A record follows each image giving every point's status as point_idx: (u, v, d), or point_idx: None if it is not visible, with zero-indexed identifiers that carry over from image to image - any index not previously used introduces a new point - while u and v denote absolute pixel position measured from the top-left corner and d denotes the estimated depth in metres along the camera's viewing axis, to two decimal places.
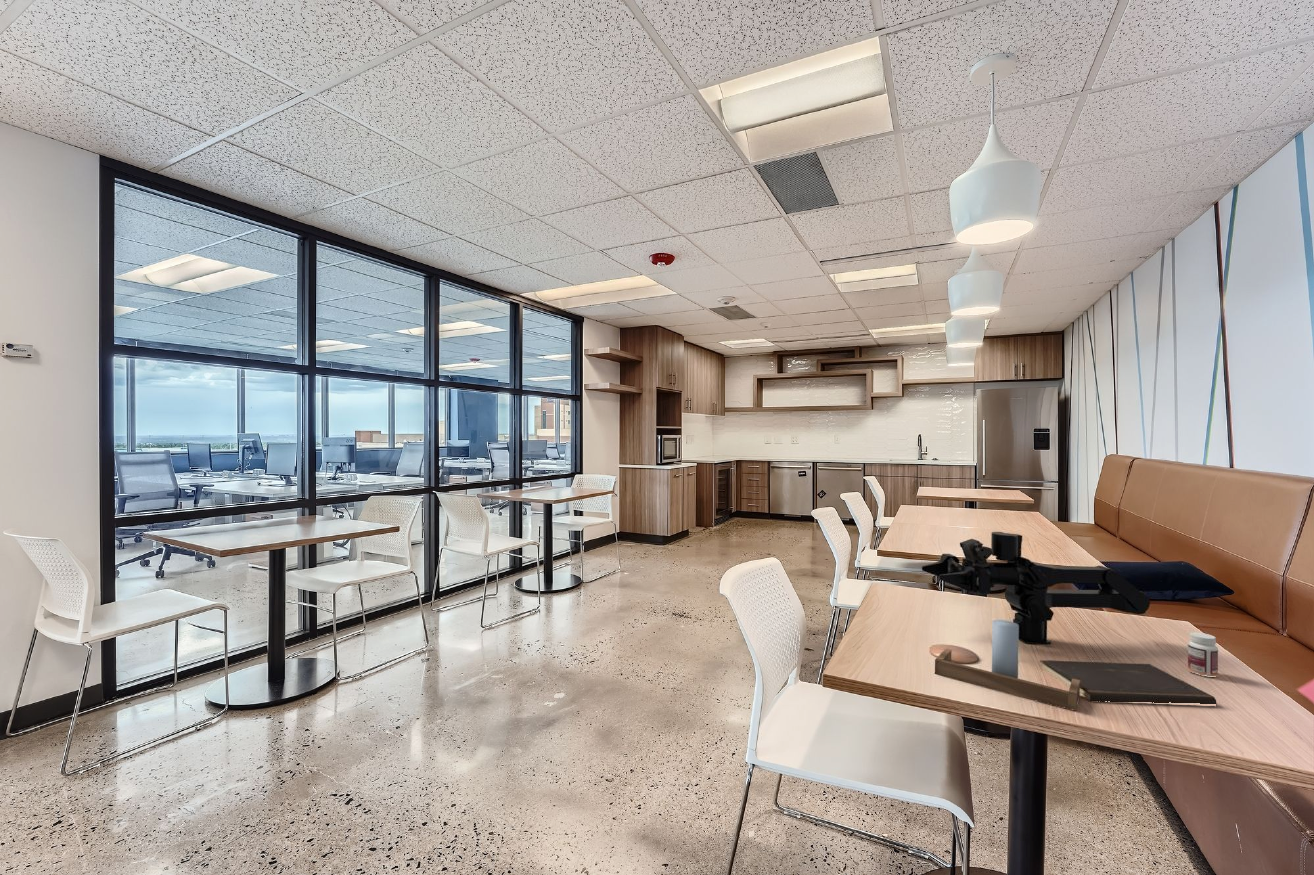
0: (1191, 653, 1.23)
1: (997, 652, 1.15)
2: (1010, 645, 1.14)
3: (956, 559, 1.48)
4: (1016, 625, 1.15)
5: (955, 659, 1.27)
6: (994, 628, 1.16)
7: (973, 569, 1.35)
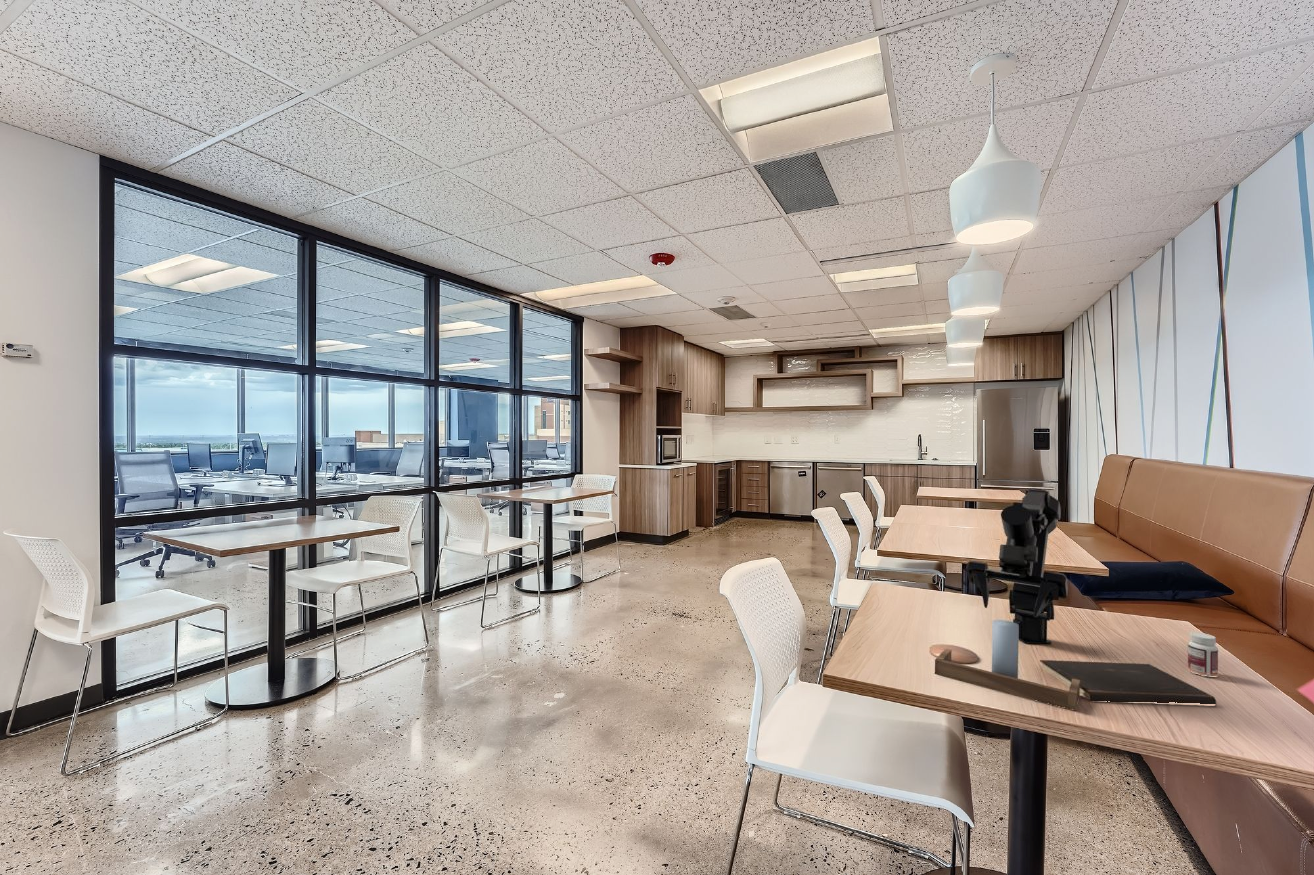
0: (1191, 653, 1.23)
1: (997, 652, 1.15)
2: (1010, 645, 1.14)
3: (986, 565, 1.28)
4: (1016, 625, 1.15)
5: (955, 659, 1.27)
6: (994, 628, 1.16)
7: (1054, 584, 1.18)
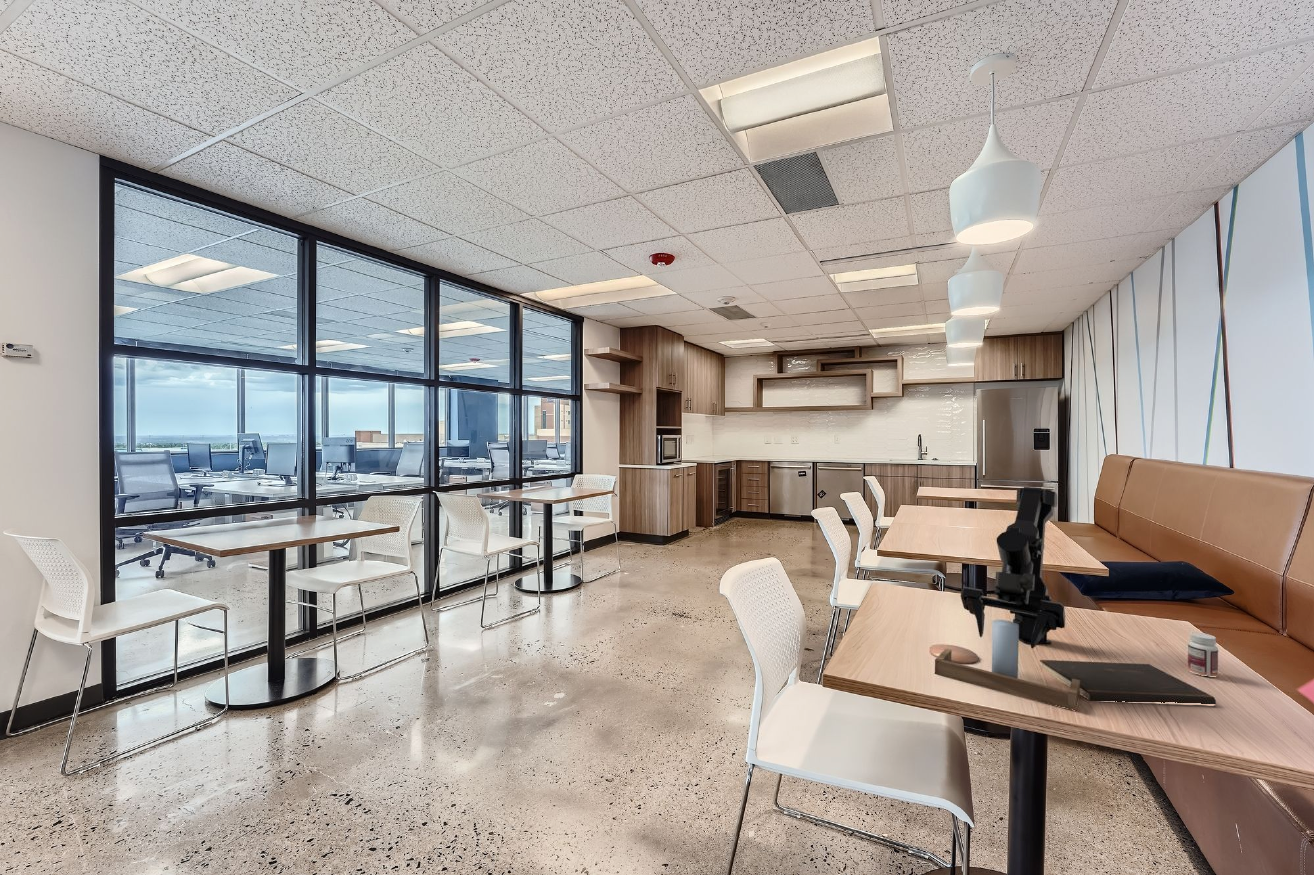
0: (1191, 653, 1.23)
1: (997, 652, 1.15)
2: (1010, 645, 1.14)
3: (981, 592, 1.24)
4: (1016, 625, 1.15)
5: (955, 659, 1.27)
6: (994, 628, 1.16)
7: (1052, 614, 1.14)
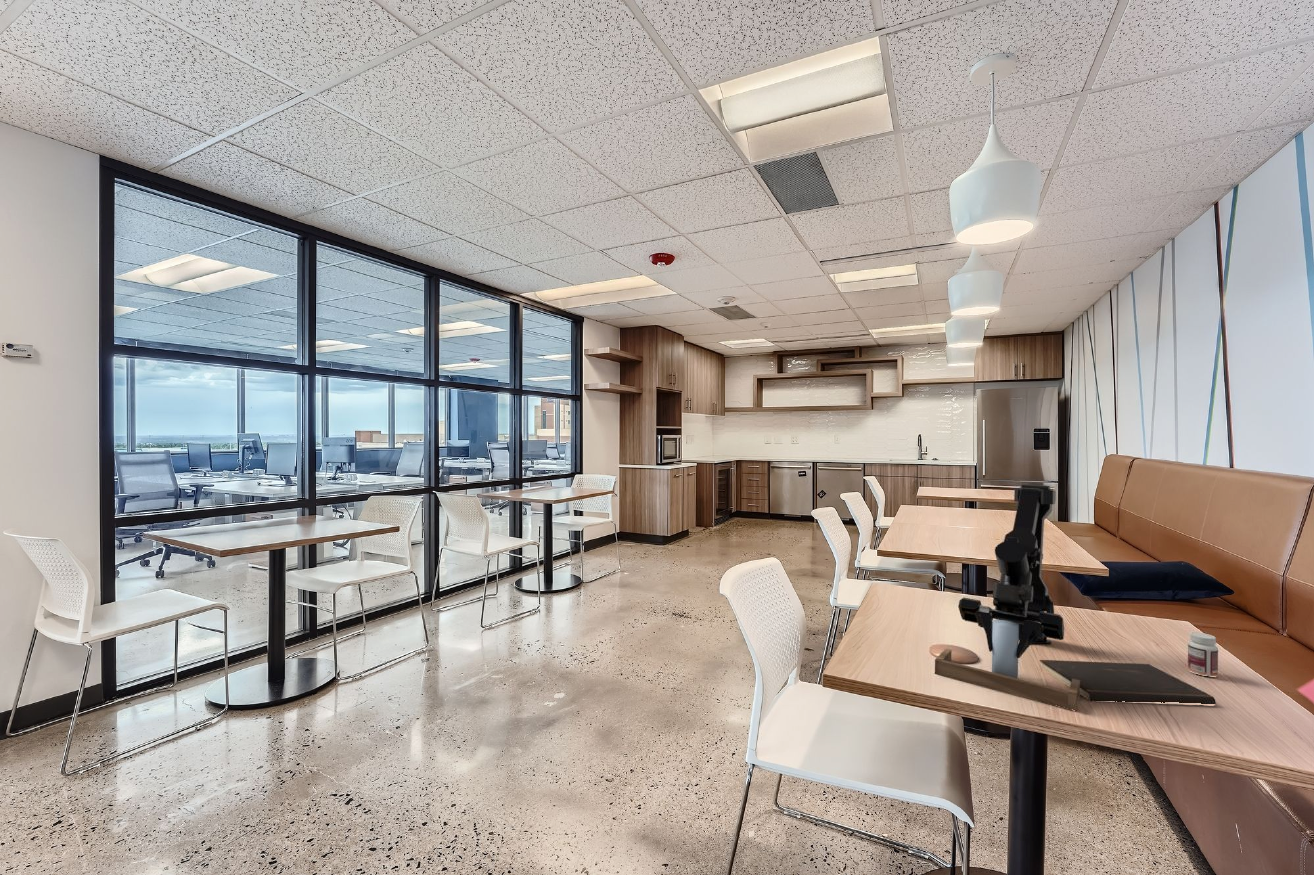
0: (1191, 653, 1.23)
1: (997, 652, 1.15)
2: (1010, 645, 1.14)
3: (979, 603, 1.23)
4: (1016, 625, 1.15)
5: (955, 659, 1.27)
6: (994, 628, 1.16)
7: (1038, 624, 1.14)
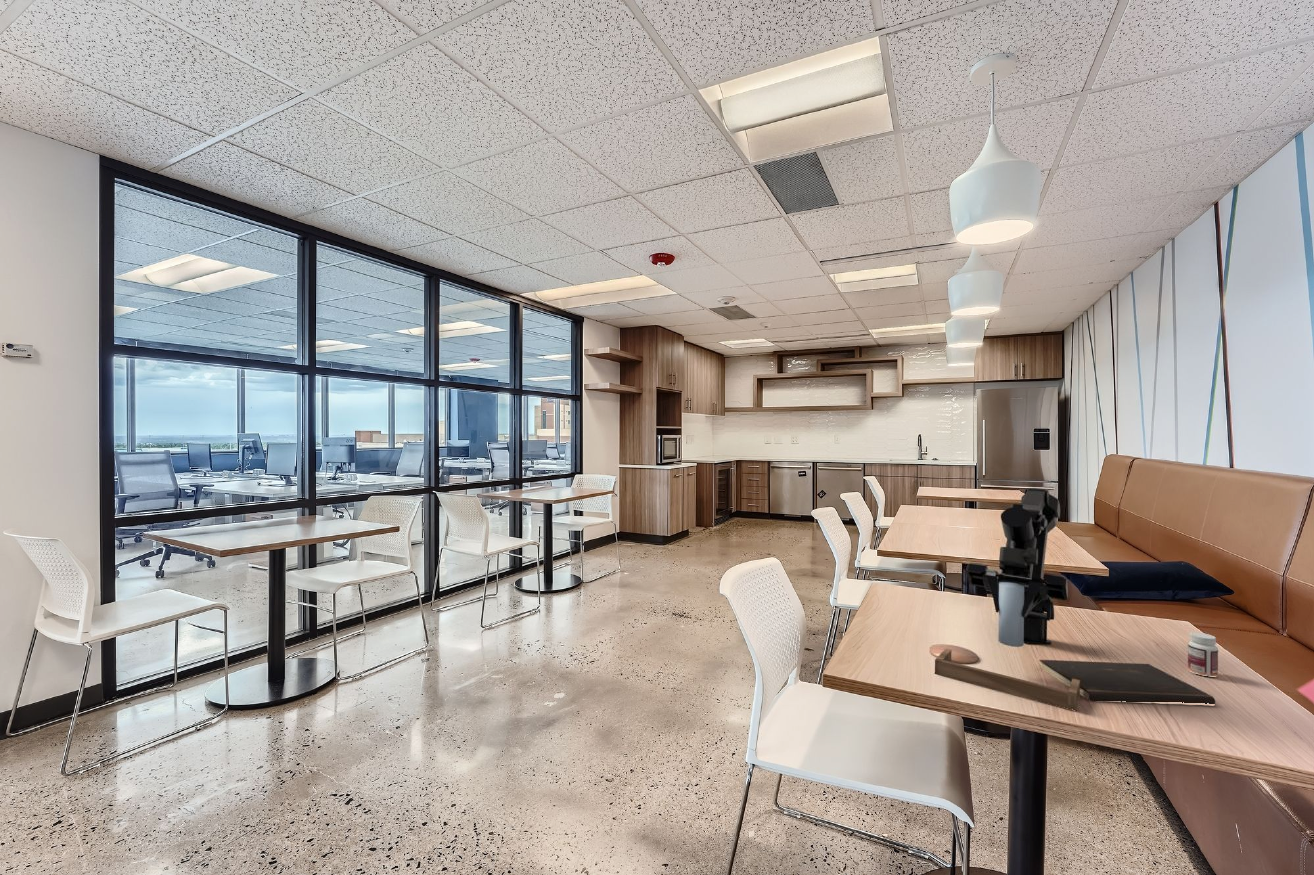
0: (1191, 653, 1.23)
1: (1004, 613, 1.20)
2: (1016, 605, 1.19)
3: (986, 567, 1.28)
4: (1022, 586, 1.20)
5: (955, 659, 1.27)
6: (1000, 590, 1.21)
7: (1042, 585, 1.19)
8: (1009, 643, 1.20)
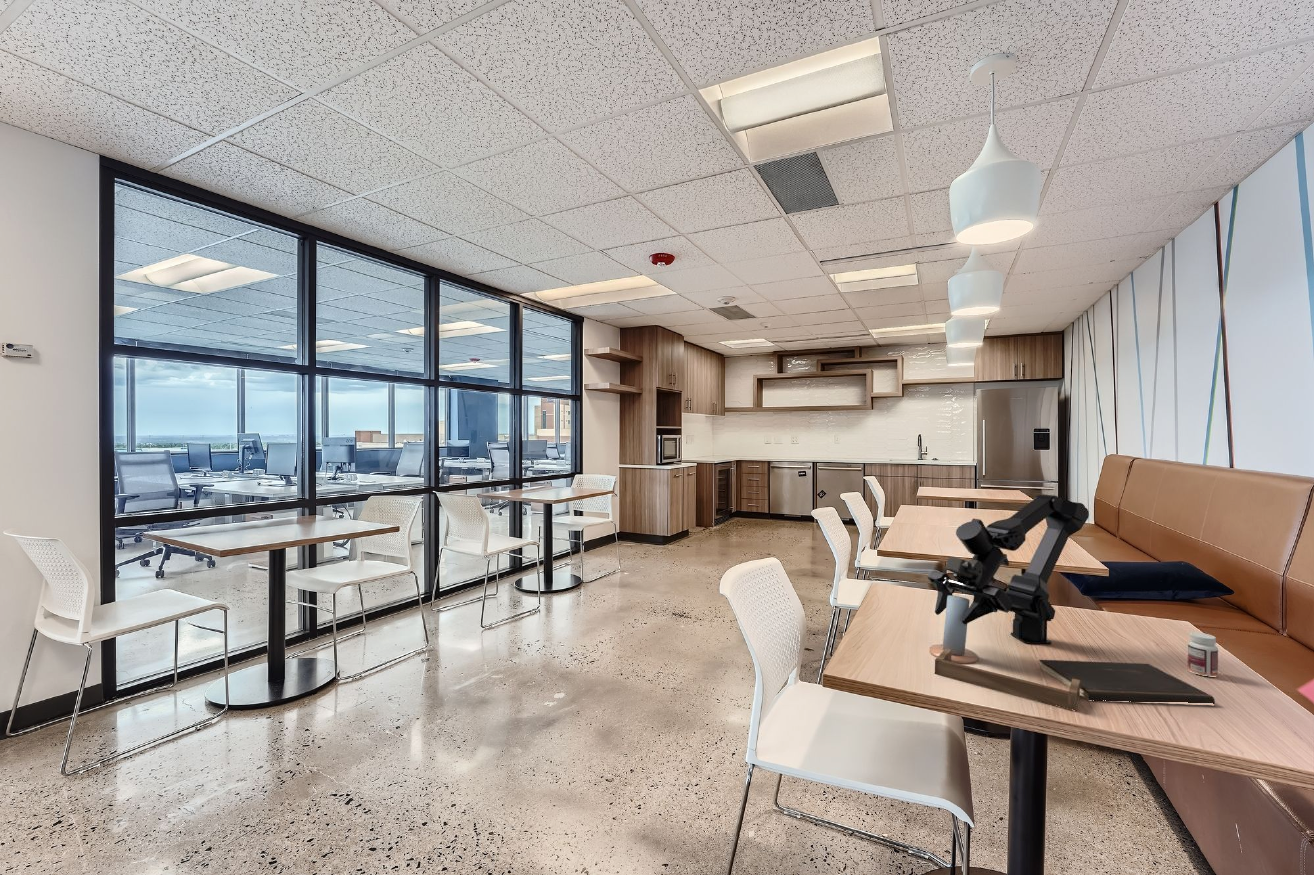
0: (1191, 653, 1.23)
1: (946, 621, 1.32)
2: (955, 616, 1.30)
3: (945, 575, 1.38)
4: (966, 600, 1.30)
5: (955, 659, 1.27)
6: (947, 600, 1.33)
7: (984, 596, 1.26)
8: None
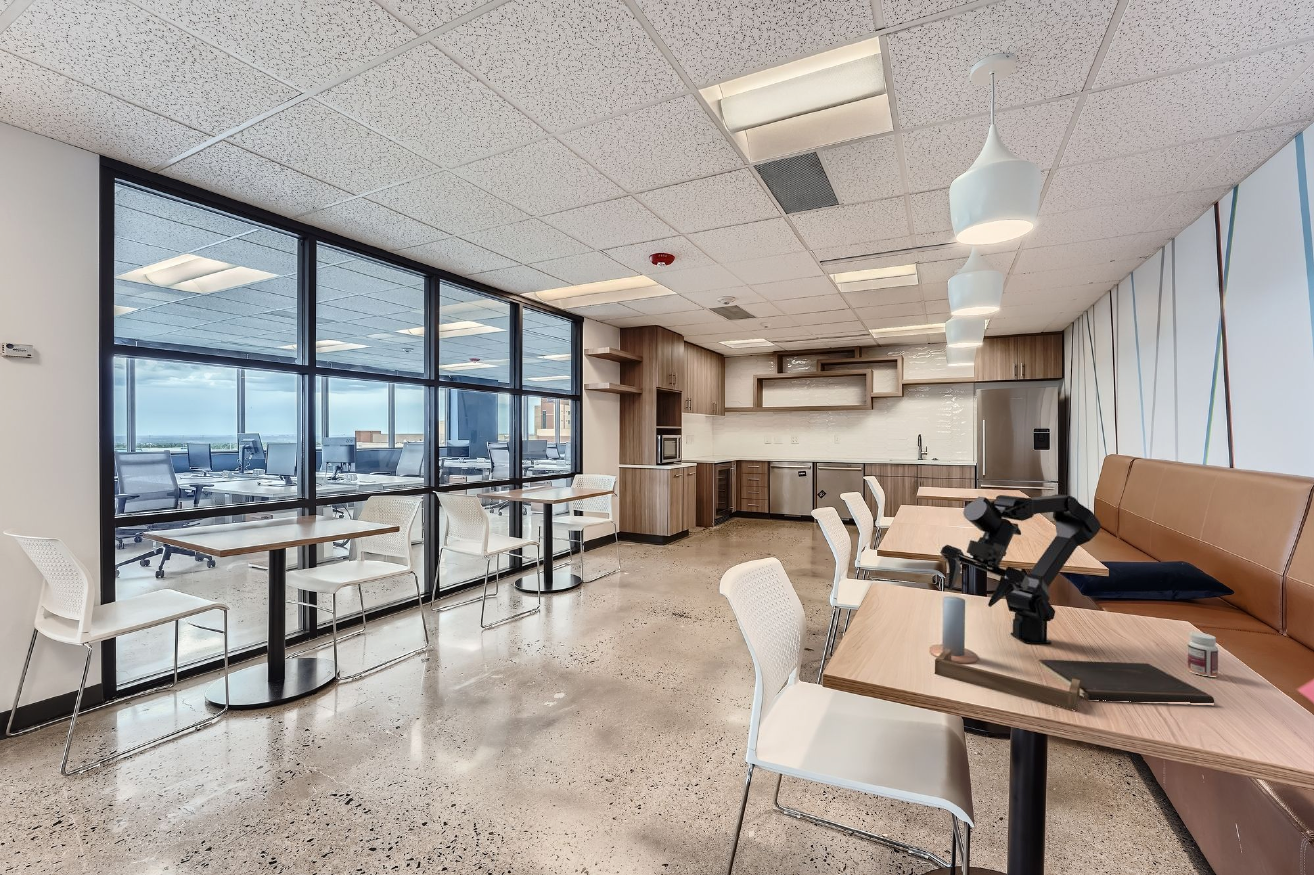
0: (1191, 653, 1.23)
1: (943, 623, 1.31)
2: (952, 617, 1.30)
3: (959, 551, 1.39)
4: (961, 601, 1.30)
5: (955, 659, 1.27)
6: None
7: (1012, 582, 1.28)
8: None
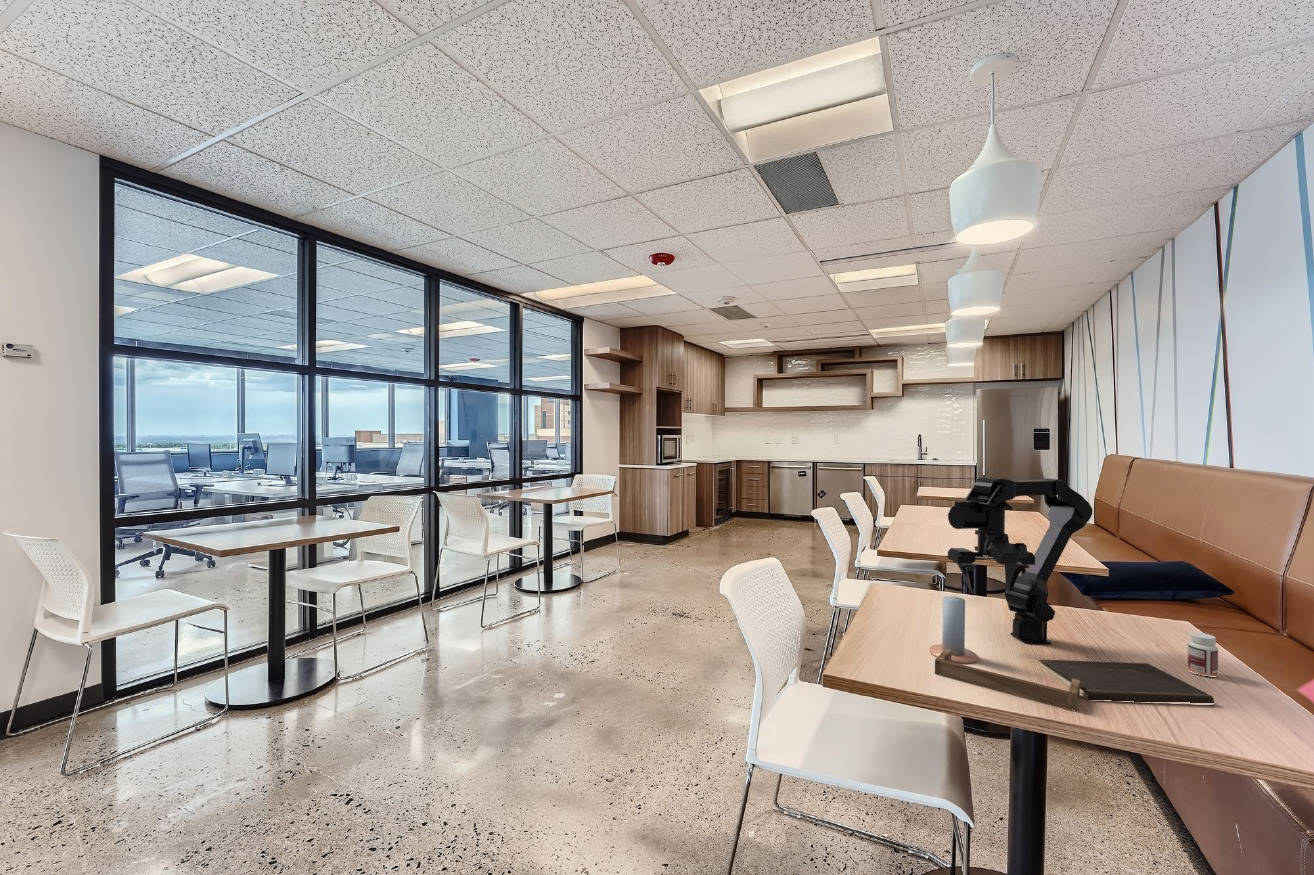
0: (1191, 653, 1.23)
1: (943, 623, 1.31)
2: (952, 617, 1.30)
3: None
4: (961, 601, 1.30)
5: (955, 659, 1.27)
6: None
7: (1028, 567, 1.36)
8: None
